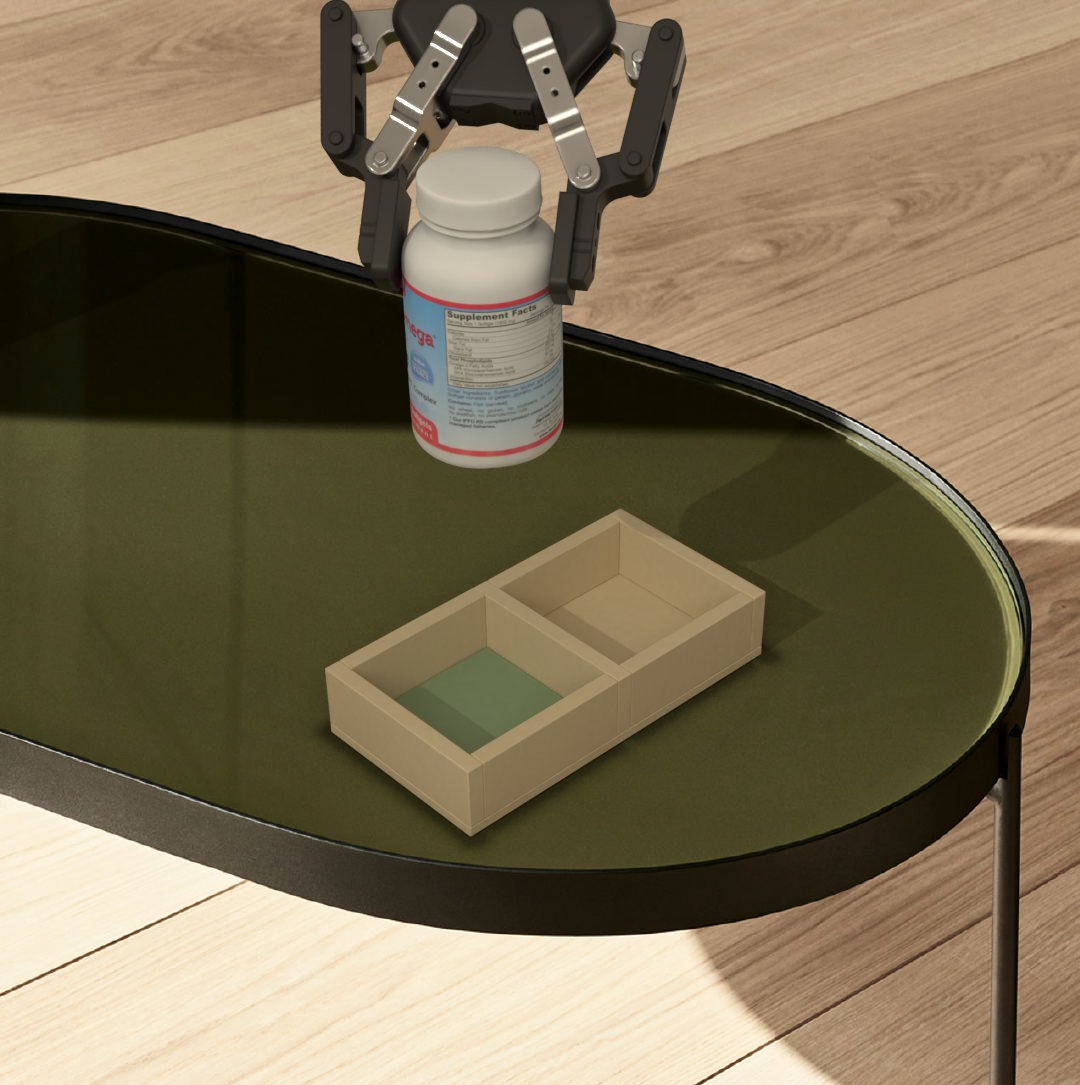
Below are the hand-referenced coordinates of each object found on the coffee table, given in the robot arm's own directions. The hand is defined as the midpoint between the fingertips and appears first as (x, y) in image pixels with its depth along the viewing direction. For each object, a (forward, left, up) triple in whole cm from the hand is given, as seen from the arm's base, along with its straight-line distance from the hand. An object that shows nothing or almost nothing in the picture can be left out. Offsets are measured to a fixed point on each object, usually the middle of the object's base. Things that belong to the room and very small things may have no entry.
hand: (473, 291), depth 73 cm
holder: (+1, +3, -20) cm, 20 cm away
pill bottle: (-1, +1, -7) cm, 8 cm away
